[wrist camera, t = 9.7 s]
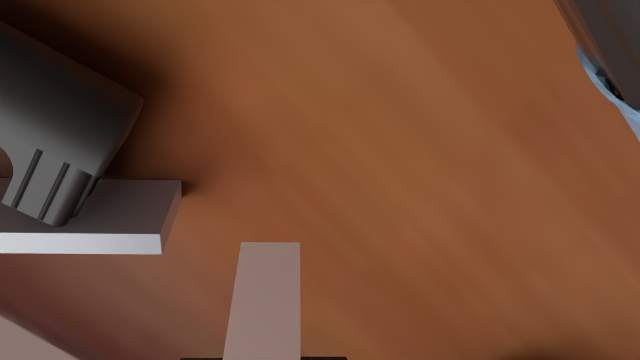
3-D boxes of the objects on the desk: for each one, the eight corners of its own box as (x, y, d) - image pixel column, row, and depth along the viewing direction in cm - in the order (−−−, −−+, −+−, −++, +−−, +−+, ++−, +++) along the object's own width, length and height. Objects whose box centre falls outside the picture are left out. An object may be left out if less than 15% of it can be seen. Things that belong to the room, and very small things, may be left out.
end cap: (158, 80, 33) (126, 126, 27) (106, 179, 35) (66, 241, 29) (-25, -21, 30) (-106, 5, 24) (-66, 95, 33) (-149, 144, 27)
